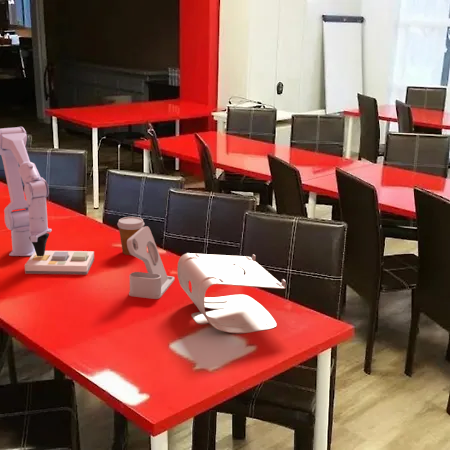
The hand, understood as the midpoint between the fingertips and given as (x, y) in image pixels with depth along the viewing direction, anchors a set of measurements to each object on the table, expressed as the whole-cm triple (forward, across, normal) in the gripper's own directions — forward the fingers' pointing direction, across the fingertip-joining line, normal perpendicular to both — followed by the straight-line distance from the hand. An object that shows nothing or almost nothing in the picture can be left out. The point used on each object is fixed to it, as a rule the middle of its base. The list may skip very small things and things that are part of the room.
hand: (40, 255), depth 216 cm
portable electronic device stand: (+4, -36, -62) cm, 72 cm away
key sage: (+1, 0, -13) cm, 13 cm away
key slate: (+1, 0, -7) cm, 7 cm away
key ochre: (+3, 0, 0) cm, 3 cm away
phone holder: (+4, -17, -38) cm, 42 cm away
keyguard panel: (+4, 0, -7) cm, 8 cm away
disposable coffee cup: (+4, +15, -29) cm, 32 cm away
